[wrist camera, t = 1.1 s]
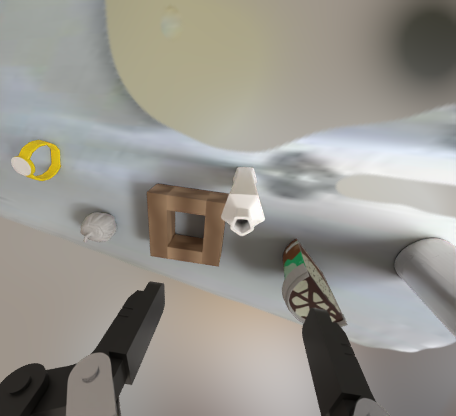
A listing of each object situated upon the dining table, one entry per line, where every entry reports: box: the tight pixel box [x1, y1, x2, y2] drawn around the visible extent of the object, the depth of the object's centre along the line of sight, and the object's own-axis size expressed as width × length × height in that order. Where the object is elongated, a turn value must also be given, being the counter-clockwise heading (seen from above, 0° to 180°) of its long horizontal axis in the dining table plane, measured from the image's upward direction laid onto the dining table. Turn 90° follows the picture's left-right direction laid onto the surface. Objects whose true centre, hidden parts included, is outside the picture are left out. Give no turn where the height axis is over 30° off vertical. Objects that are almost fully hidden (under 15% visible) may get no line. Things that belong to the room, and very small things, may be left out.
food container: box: [282, 238, 347, 327], centre depth 34 cm, size 12×6×10 cm, turn 39°
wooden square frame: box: [147, 184, 229, 267], centre depth 34 cm, size 12×12×4 cm
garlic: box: [81, 212, 117, 242], centre depth 36 cm, size 6×5×5 cm
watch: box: [11, 140, 61, 181], centre depth 31 cm, size 6×3×6 cm, turn 162°
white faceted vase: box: [221, 167, 265, 236], centre depth 25 cm, size 5×4×15 cm
